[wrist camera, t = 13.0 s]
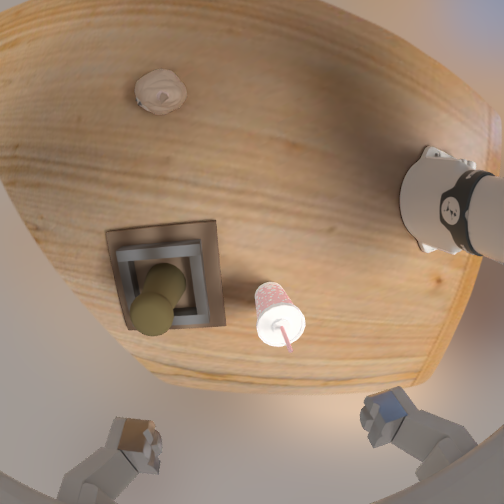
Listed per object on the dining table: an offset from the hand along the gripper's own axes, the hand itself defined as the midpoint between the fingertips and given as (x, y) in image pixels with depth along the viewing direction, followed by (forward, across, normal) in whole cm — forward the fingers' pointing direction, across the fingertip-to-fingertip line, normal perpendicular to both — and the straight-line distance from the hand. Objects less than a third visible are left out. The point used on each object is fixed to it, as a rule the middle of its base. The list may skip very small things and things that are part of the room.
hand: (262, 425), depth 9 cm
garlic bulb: (+31, +8, -20) cm, 38 cm away
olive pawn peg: (+30, +10, +6) cm, 32 cm away
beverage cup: (+31, -5, +10) cm, 33 cm away
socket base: (+31, +10, +6) cm, 33 cm away
